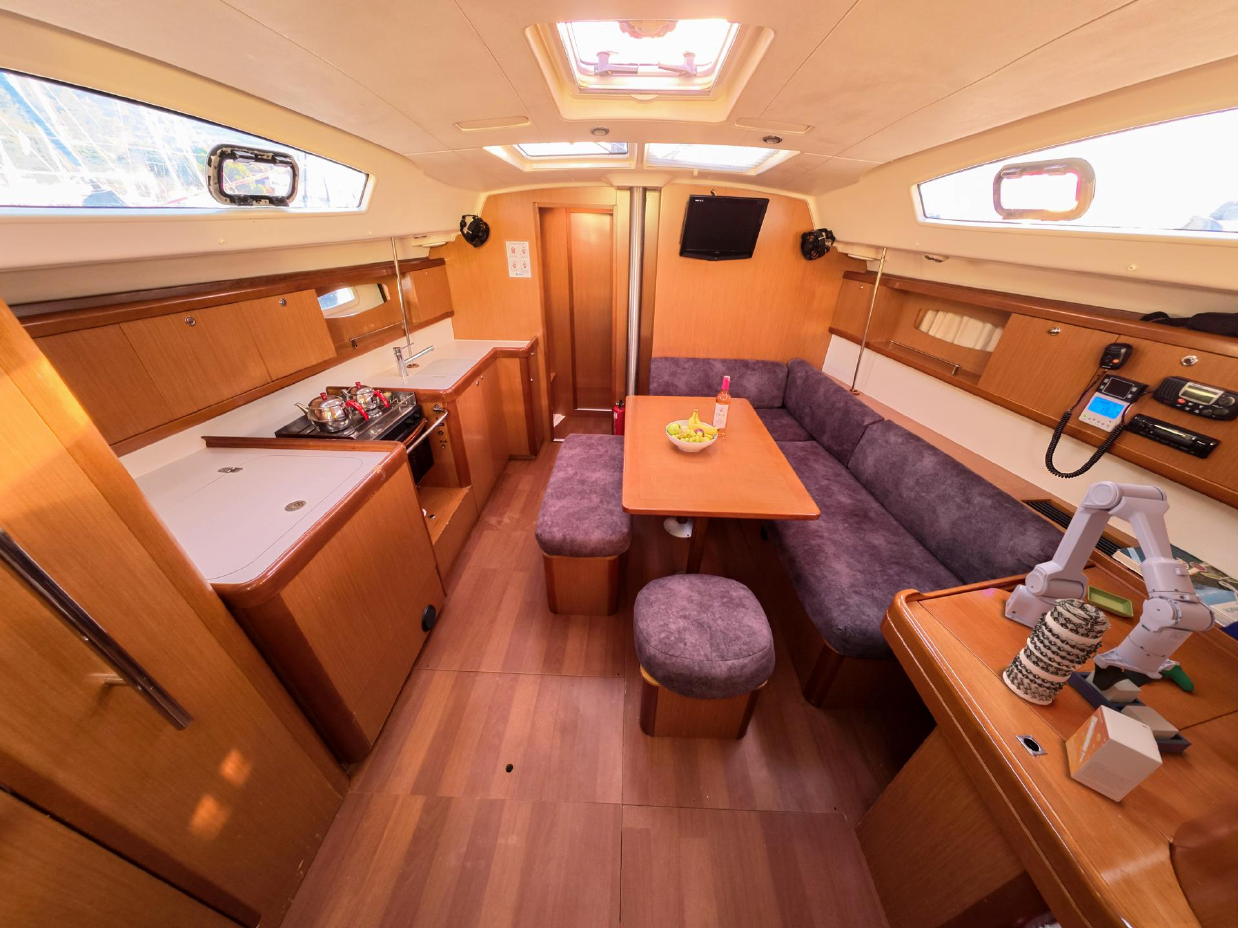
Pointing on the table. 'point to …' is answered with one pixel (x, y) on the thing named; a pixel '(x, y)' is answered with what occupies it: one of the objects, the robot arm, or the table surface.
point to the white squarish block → (1118, 690)
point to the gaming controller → (1179, 676)
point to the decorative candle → (1056, 650)
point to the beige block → (1151, 721)
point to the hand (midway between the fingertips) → (1110, 686)
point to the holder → (1096, 699)
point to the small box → (1112, 753)
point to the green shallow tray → (1110, 602)
